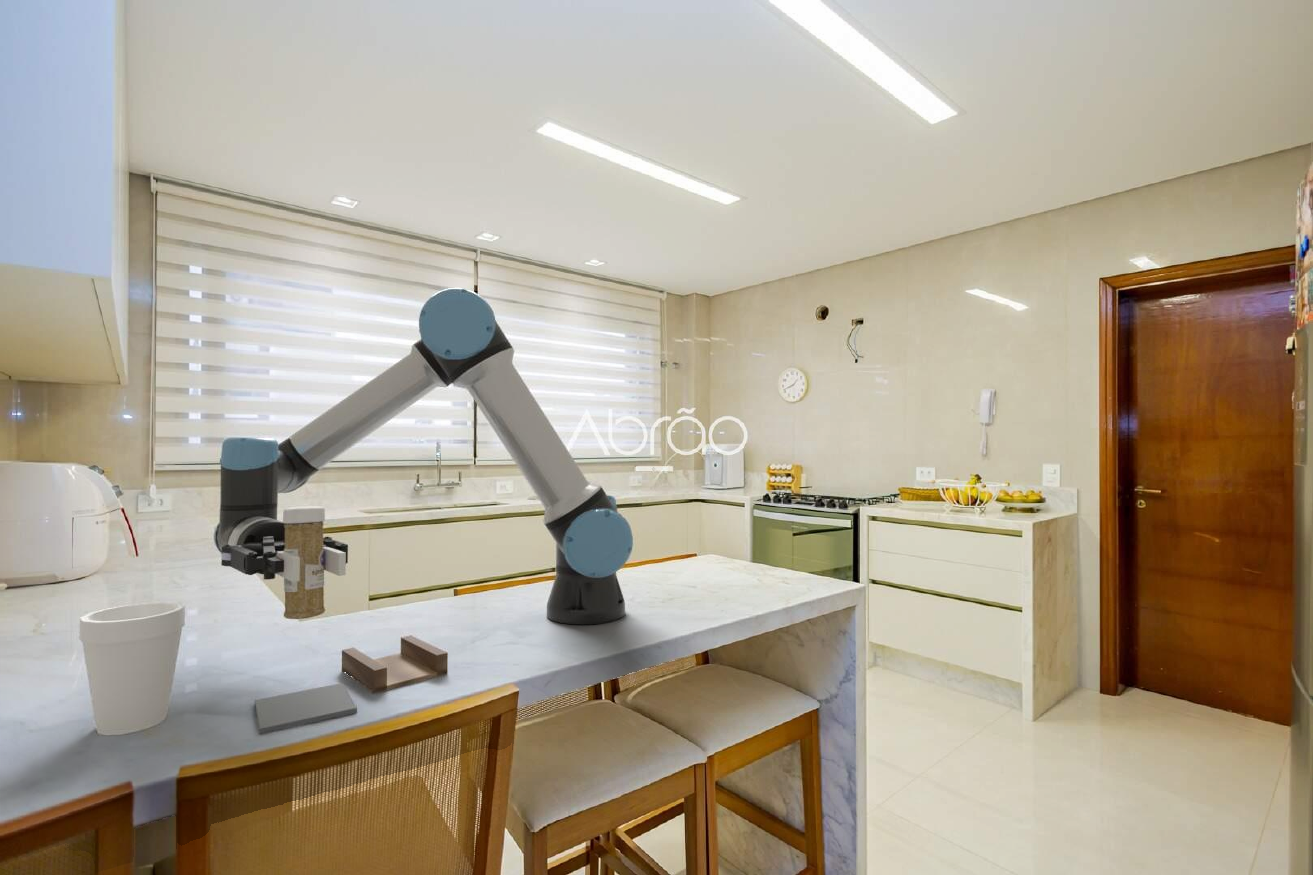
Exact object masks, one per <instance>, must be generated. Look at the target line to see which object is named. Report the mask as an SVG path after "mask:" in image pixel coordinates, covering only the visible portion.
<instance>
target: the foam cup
mask: <svg viewBox="0 0 1313 875" xmlns="http://www.w3.org/2000/svg"><path fill="white" fill-rule="evenodd" d="M185 607H186V606H185V605H184V604H183V603H181V602H173V601H157V602H155V601H154V602H143V603H135V604H126V605H125V604H124V605H119V606H114V607H113V606H112V607H109V608H103V609H100V610H97V611H96V610H95V611H92V612H88V613H86V614H84V615H82V616H81V617H79V638H78V639H79V640H80V641H81V643H82V648H83V654H84V656H83V657H84V660H85V667H86V674H87V680H88V681H87V682H88V688H89V694H90V698H91V707H92V713H93V720H94V725H95V727H96V729H95V730H96V732H97V734H98V735H102V736H117V735H118V736H121V735H126V734H130V733H132V734H133V733H137V732H139V731H143V730H146V729H149V728H152V727H154V726H156V725H158V724H160V723H162V722H164V720H165V719H166V718H167V716H168V712H169V707H170V702H171V701H170V700H171V694H172V691H173V690H172V689H173V684H174V678H175V672H176V666H177V662H178V660H177V659H178V655H179V648H180V642H181V636H182V631H183V627H184V626H185V625H186V624H185V623H186V622H185V620H186V619H185V618H186V613H185V612H186V608H185Z"/></svg>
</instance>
